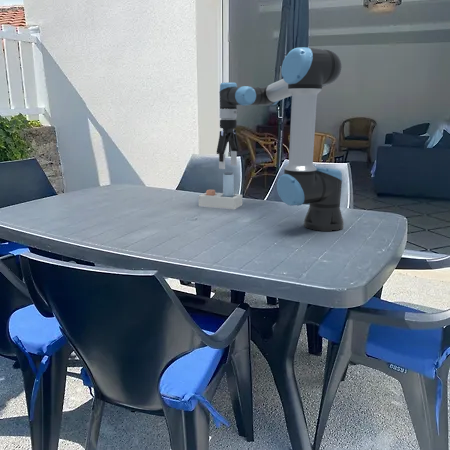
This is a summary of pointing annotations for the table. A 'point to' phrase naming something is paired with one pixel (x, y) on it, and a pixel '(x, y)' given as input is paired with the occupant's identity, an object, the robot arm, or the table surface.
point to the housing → (220, 201)
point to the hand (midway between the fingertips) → (228, 167)
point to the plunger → (210, 192)
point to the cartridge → (228, 184)
